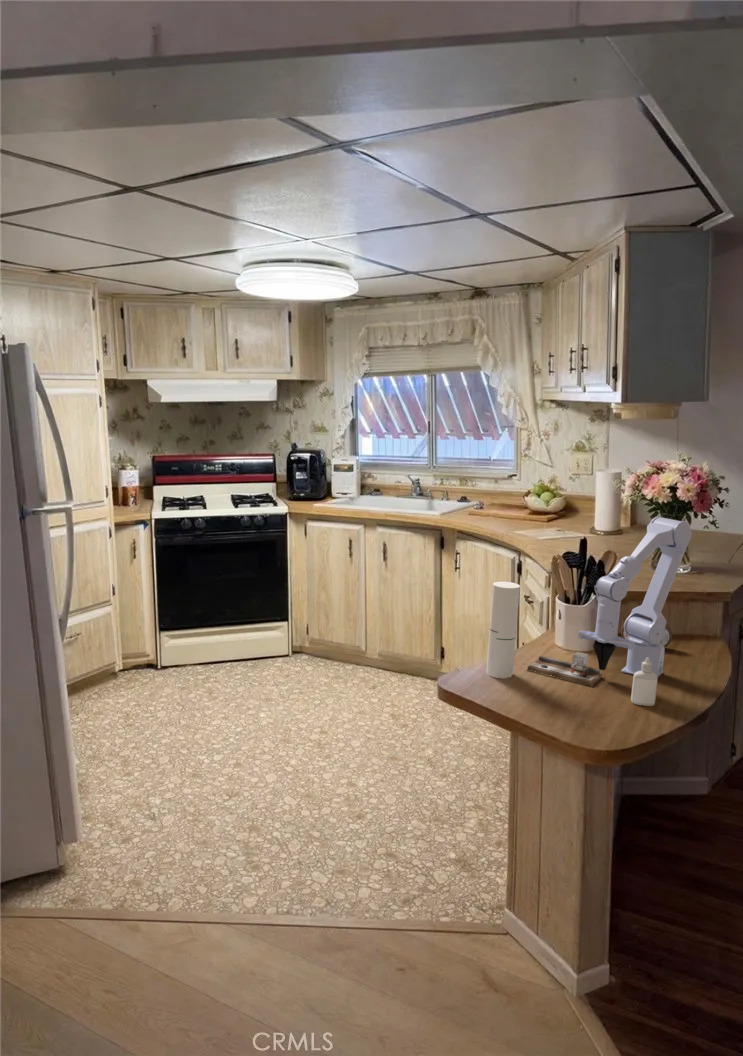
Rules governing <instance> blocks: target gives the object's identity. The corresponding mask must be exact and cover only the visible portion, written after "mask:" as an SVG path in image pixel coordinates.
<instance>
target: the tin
mask: <svg viewBox="0 0 743 1056" xmlns="http://www.w3.org/2000/svg"><path fill="white" fill-rule="evenodd" d="M624 623H625V621H623V623H622V625H621V628H620V634H621V638H624V639H627V640H629V639H628V638H627V634H626V633H625V631H624ZM672 633H673V632H672V629H671V628H670V626H669V625H667V624H666V625H665V631H664V637H663V639H662V640H661V641H660V642H659V645H661V646H664V649H665V648H667V647H668V646H669V645H670V643H671V642H672V638H673V634H672Z"/></svg>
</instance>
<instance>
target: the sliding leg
mask: <svg viewBox="0 0 743 1056" xmlns="http://www.w3.org/2000/svg"><path fill="white" fill-rule="evenodd" d="M588 655H589V654H588V653H585V652H584V653H583V652H579V651H576V652H575V653H573V655H572V662H571V663H572V665H571V667H572V668H571V673H574V669H576V670H580V671H582V670H583V668H584V666H585V667H588V666H587V665H588V657H589V656H588Z"/></svg>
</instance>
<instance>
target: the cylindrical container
mask: <svg viewBox="0 0 743 1056" xmlns="http://www.w3.org/2000/svg"><path fill="white" fill-rule="evenodd" d="M520 590H521V586H520V584H518V583H515V582H511V581H496V582H495V581H494V582H493V583H492V591H491V592H492V593H491V606H490V618H489V619H490V620H489V632H488V633H489V634H488V643H487V659H486V670H485V671H486V675H487V676H490V677H492V678H495V679H508V678H507V677H510V676H512V675H514V663H515V649H516V637H517V627H518V613H519V603H520V602H519V600H520ZM512 677H513V676H512ZM510 678H511V677H510Z"/></svg>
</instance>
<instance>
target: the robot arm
mask: <svg viewBox="0 0 743 1056" xmlns="http://www.w3.org/2000/svg"><path fill="white" fill-rule="evenodd" d="M692 535H693V532H692V529H691V526H690V524H689V523H688V522H687V521H685V520H682V521H681V520H677V519H672V518H666V517H662V516H655V517H653V518H652V519H651V521H650V523H649V524H647V526H646V534H645V535H644V536H643V538H642V539H641V541H640V542H639V543H638V545H637V546H636V547H635V549H634V550H633V551H632V553H631V554H630V555H627V556H623V557H622V558H621V559H620V560H619V561H618V563H617V564H616V565H615V566H614V567H613V568H612V569H611V571H610V572H609V573H608V574H607V575H604V576H601V577H600V578H598V579H597V581H596V584H595V585H594V592H595V594H596V601H597V610H596V611H597V612H596V619H595V620H596V622H595V631H589V630H582V629H581V630H579V631H578V637H577V639H578V640H579V639H580V640H586V641H588V640H589V641H593V642H594V643H593V644H592V647H593V650H594V652H595V654H596V659H597V662H598V670H600V671H606V670H607V667H608V663H609V661H610V659H611V656H612V655H613V653H614V652H615V650H616V648H617V647H619V648H623V649H627V655H626V656H627V657H626V664H625V666H624V667H623V668H622V669H621V673H625V674H628V675H633V676H634V673H635V672H637V671H641V667H642V662H645V660H646V658H649V661H650V663H652V671H651V672H652V673H654V674H656V676H657V678H659V677H660V676H661V675H662V674H663V669H664V668H663V667H664V659H665V652H666V651H665V648H664V646H661V645H659V642H660V641H661V640H662V639H663V637H664V631H665V625H667V620H666V618H665V616H664V614H663V613H662V610H663V608H664V605H665V603H666V600H667V598H668V595H669V593H670V591H671V588H672V586H673V583H674V580H675V578H676V575H677V572H678V570H679V568H680V565H681V562H682V560H683V557H684V555H685V553H686V550H687V548H688V545H689V543H690V541H691V538H692ZM658 548H659V549H660V551H661V556H660V558H659V560H658V563H657V564H656V568H655V571H654V572H653V574H652V575H653V576H652V578H651V581H650V583H649V586H648V588H647V591H646V594H645V596H644V598H643V600H642V604H640V605H639V606H636V607H634V608H632V610H631V612H630V614H629V615H628V617H626V619H625V621H624V622H625V623H624V622H623V623H624V631H625V633H626V634H627V638H628V639H629V640H627V639H624V638H622V636H618V634H619V633H618V631H619V621H620V612H621V605H622V600H623V599H624V598H625V597H626V596H627V594H628V589H629V588H630V586H631V585H630V583H632V581H633V580H634V579H635V578H636V577H637V576H638V575H639V573H640V572H641V571H642V564H643V562H644V561H645V560H646V559H647V558H648V557H649V556H651V554H652V553H653V552H655V551H656V550H657V549H658Z"/></svg>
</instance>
